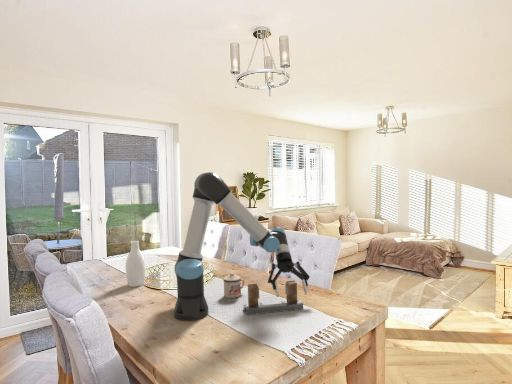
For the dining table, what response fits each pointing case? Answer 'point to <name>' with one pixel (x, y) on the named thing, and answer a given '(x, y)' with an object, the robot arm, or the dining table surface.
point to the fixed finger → (253, 294)
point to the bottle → (135, 266)
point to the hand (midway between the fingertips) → (292, 294)
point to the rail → (273, 307)
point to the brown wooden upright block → (291, 291)
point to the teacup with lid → (232, 286)
